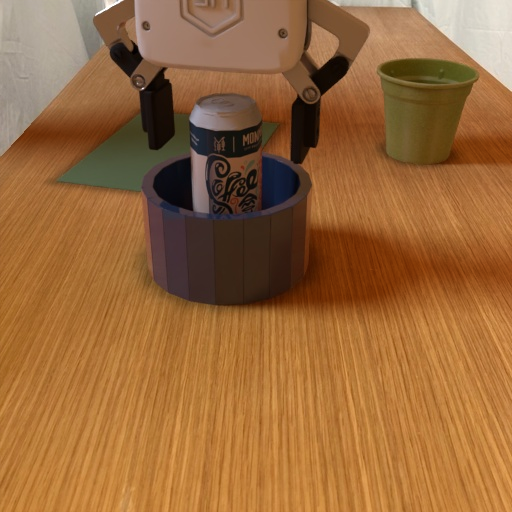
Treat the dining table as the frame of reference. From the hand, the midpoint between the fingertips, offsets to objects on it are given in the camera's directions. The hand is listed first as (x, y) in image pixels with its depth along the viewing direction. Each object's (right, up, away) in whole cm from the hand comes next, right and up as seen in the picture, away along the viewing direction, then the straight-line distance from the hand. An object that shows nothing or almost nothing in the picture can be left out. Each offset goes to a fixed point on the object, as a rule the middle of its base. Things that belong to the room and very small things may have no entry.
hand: (230, 149), depth 46 cm
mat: (-6, +3, +23) cm, 24 cm away
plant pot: (+18, +3, +23) cm, 29 cm away
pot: (0, -8, +5) cm, 9 cm away
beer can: (0, -8, +5) cm, 9 cm away
